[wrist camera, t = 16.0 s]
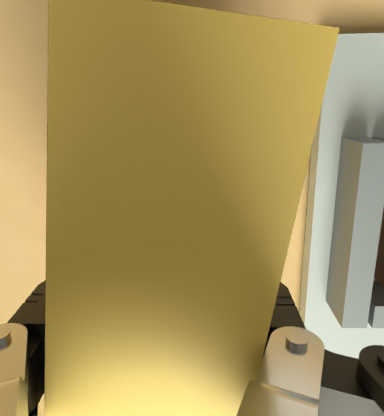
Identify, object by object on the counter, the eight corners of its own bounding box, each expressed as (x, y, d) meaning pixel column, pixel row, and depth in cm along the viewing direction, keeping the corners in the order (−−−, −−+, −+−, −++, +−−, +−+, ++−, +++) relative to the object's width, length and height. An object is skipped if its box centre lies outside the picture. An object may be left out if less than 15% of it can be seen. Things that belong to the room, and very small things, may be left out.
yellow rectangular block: (92, 423, 16) (42, 581, 11) (117, 33, 11) (48, -15, 6) (203, 436, 16) (206, 598, 11) (275, 56, 11) (339, 28, 6)
